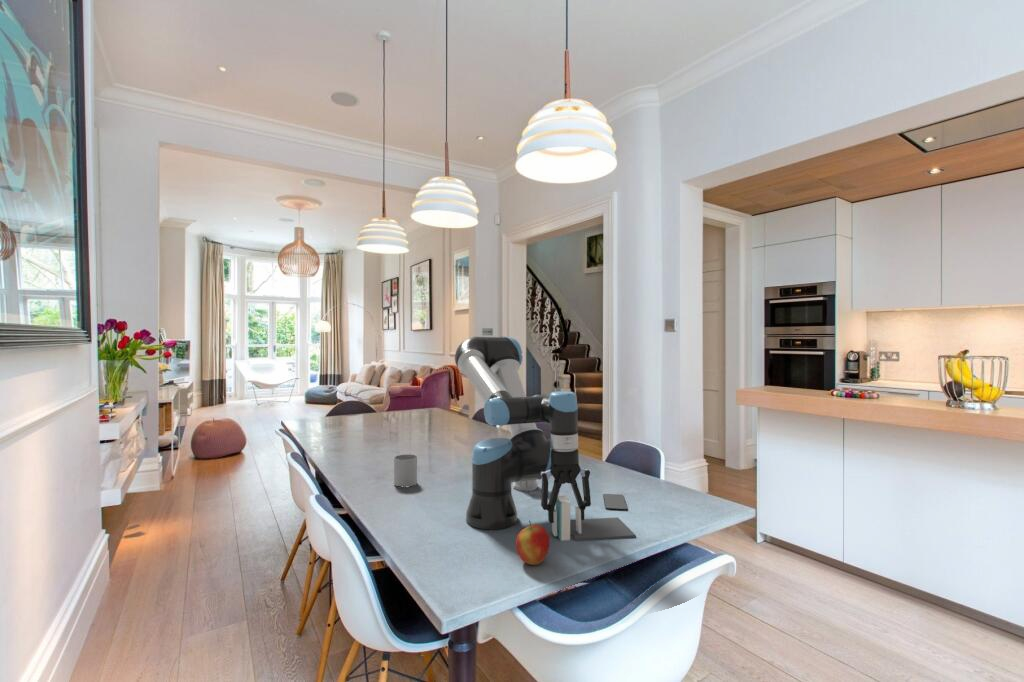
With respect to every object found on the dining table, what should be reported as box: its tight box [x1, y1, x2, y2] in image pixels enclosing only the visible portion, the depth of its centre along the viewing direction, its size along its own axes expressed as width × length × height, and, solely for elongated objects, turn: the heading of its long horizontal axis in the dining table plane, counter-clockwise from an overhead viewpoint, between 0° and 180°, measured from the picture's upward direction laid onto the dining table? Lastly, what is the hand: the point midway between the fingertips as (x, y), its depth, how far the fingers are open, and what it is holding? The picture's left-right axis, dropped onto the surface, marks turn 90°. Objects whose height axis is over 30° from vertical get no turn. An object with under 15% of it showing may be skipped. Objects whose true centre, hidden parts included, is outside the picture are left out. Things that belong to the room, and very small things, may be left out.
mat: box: [570, 516, 637, 542], centre depth 133 cm, size 17×13×1 cm
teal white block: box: [555, 495, 571, 541], centre depth 128 cm, size 3×6×10 cm, turn 9°
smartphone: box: [602, 493, 628, 512], centre depth 155 cm, size 7×1×15 cm
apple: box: [515, 519, 551, 566], centre depth 113 cm, size 8×8×10 cm
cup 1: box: [393, 453, 418, 488], centre depth 174 cm, size 8×8×10 cm
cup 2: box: [512, 479, 538, 492], centre depth 171 cm, size 10×9×12 cm
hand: (566, 532), depth 128 cm, fingers open, 6 cm apart
